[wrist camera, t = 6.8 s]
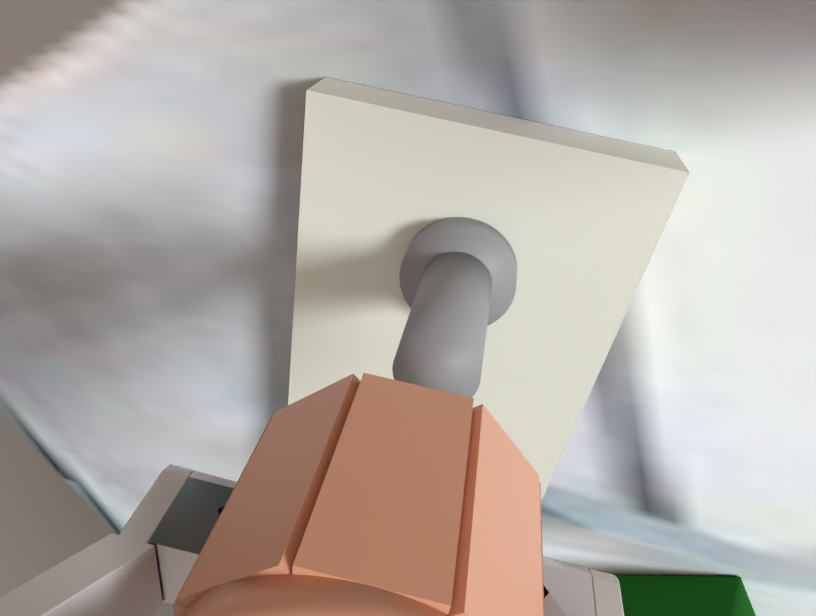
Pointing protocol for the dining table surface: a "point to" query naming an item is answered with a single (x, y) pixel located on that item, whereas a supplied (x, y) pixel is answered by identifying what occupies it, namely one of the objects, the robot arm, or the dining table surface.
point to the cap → (376, 513)
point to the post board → (494, 180)
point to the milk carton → (683, 596)
